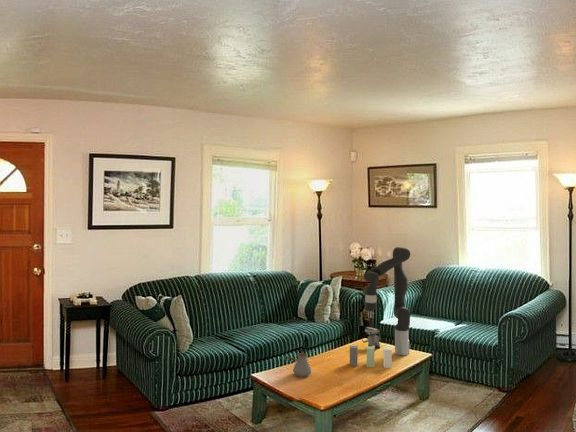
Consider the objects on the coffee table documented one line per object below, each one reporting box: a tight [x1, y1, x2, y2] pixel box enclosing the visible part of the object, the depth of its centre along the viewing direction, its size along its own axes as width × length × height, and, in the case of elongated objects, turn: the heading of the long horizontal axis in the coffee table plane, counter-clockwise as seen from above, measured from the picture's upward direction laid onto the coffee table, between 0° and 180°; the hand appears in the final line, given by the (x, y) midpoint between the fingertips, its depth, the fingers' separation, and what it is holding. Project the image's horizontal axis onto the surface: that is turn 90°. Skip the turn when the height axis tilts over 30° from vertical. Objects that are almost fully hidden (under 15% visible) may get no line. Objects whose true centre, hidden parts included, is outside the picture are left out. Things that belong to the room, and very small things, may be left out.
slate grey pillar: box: [349, 345, 359, 367], centre depth 333 cm, size 5×5×12 cm
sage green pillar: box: [366, 345, 376, 368], centre depth 331 cm, size 5×5×12 cm
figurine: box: [361, 326, 381, 349], centre depth 369 cm, size 9×12×15 cm
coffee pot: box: [285, 352, 312, 378], centre depth 309 cm, size 21×12×15 cm, turn 139°
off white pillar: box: [383, 346, 393, 369], centre depth 329 cm, size 5×5×12 cm
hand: (370, 326), depth 340 cm, fingers closed
